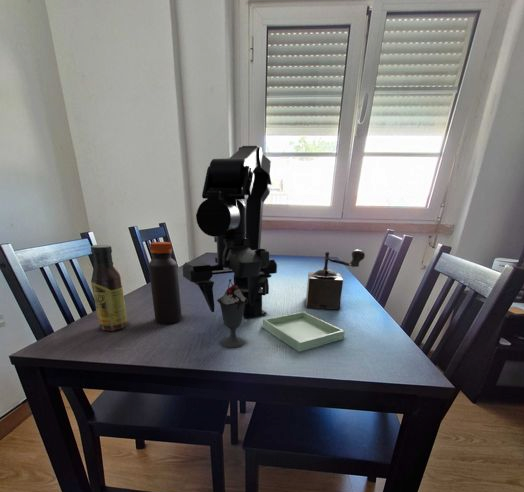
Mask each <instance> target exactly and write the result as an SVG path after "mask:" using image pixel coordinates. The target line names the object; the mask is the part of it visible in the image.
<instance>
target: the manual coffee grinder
mask: <svg viewBox="0 0 524 492" xmlns="http://www.w3.org/2000/svg"><path fill="white" fill-rule="evenodd" d="M324 255H325V256H324V267H323V268H321V269H319V270H317V271H309V272H308V274H307V282H306V284H307V285H306V294H305V307H306V309H314V310H315V309H317V310H341V300H342V294H343V293H342V291H343V286H344V279H343V277H342V275H341V273H336V272H335V271H333V270H331V269H329V268H328V265H329V262H331V263H336V264H339V265H344V266H347V267H349V268H359V267H360V262H362V261H363V260H364V259H365V257H366V253H365V252H364V251H363V250H361V249H354V250H352V252H351V261H350V262H346V261H342V260H338V259H333V258H331V257H330V252H329V251H326V252H325V253H324Z"/></svg>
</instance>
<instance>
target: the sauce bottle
mask: <svg viewBox="0 0 524 492" xmlns="http://www.w3.org/2000/svg"><path fill="white" fill-rule="evenodd" d="M90 252H91V254H92V258H93V270H92V275H91V279H90V280H91V281H90V283H91V288H92V289H91V290H92V294H93V300H94V306H95V310H96V316H97V321H98V324H99V327H100V329H101V330H102V331H107V332H113V331H119V330H122V329H124V328H126V327H127V326H128V323H127V321H128V317H127V310H126V303H125V296H124V288H123V285H122V279H121V275H120V272H119V271H118V270H117V269H116V268H115V266H114V261H113V255H112V252H113V248H112V245H109V244H93V245H91V246H90Z"/></svg>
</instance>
